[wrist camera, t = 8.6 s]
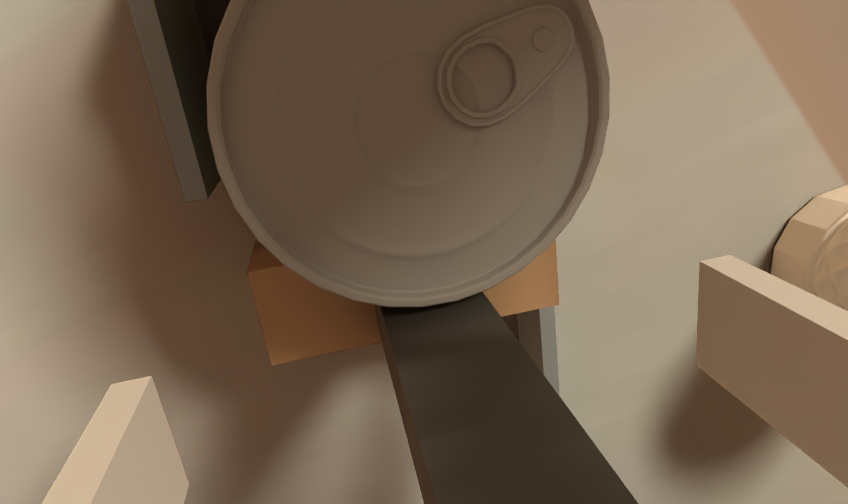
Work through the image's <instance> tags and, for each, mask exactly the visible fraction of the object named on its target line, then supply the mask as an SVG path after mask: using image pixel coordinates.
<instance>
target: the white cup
mask: <svg viewBox="0 0 848 504" xmlns="http://www.w3.org/2000/svg"><path fill="white" fill-rule="evenodd" d="M770 274H771V275H773V276H775V277H777V278H779V279H782V280H784V281H786V282H788V283H790V284H792V285H794V286H796V287H798V288H800V289H802V290H804V291H807V292H809V293H811V294H813V295H815V296H817V297H819V298H821V299H823V300H825V301H827V302H829V303H832V304H834V305H836V306H838V307H840V308H842V309H844V310H846V311H848V185H846V186H842V187H840V188H837V189H834V190H831V191H829V192H826V193H823V194H821V195H818V196H816V197H815V198H813V199H812V200H811V201H810V202H809V203H808V204H807V205H805V206H804V207H803V208H802V209H801V210H800V211H799V212H797V213H796V214H795V215H794V216H793V217H792V218H791V219H790V221H789V222H788V224H787V226H786V228H785V229H784V231H783V233H782V235H781V236H780V238H779V240H778V242H777V243H776V245H775V247H774V252H773V259H772V266H771V272H770Z"/></svg>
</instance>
